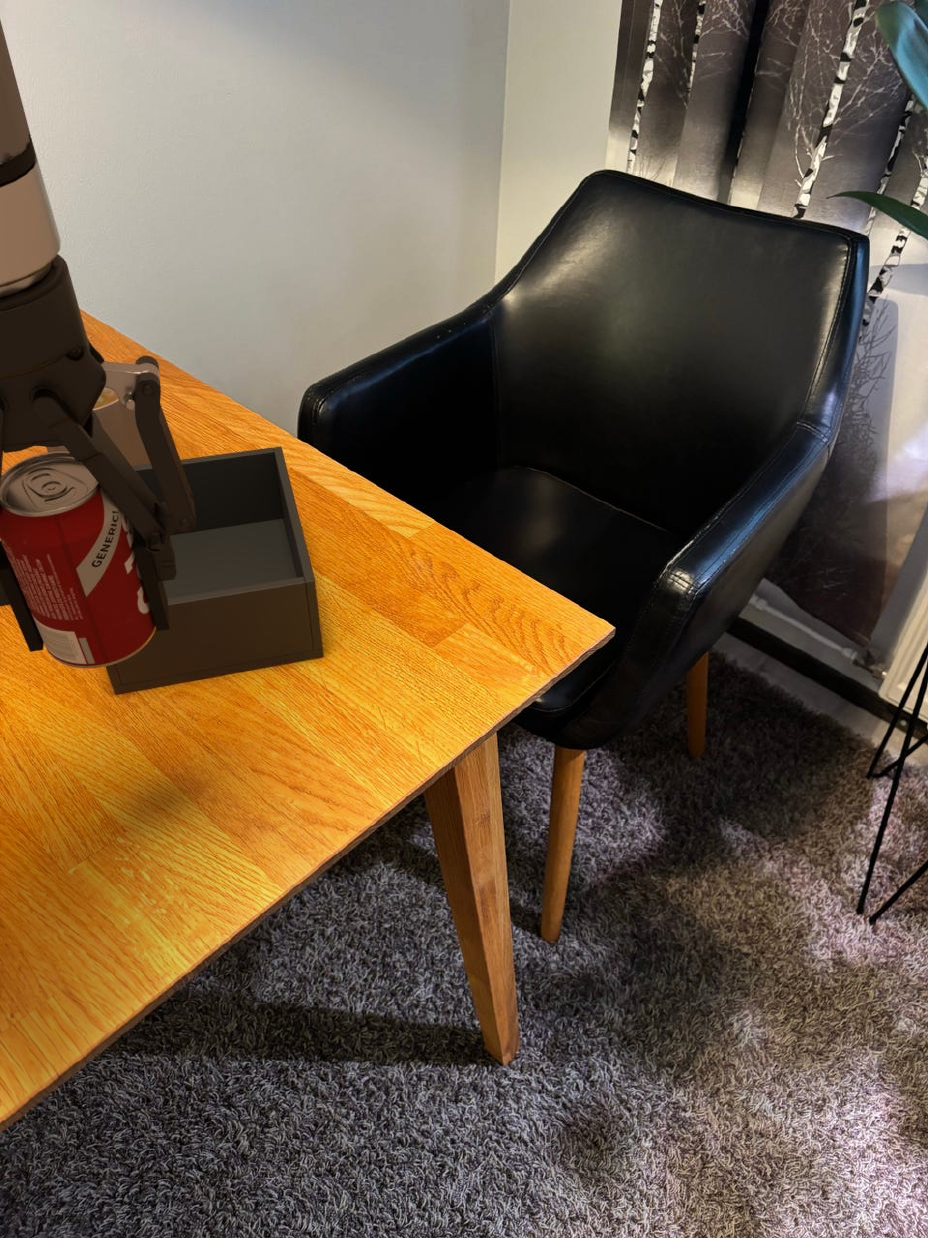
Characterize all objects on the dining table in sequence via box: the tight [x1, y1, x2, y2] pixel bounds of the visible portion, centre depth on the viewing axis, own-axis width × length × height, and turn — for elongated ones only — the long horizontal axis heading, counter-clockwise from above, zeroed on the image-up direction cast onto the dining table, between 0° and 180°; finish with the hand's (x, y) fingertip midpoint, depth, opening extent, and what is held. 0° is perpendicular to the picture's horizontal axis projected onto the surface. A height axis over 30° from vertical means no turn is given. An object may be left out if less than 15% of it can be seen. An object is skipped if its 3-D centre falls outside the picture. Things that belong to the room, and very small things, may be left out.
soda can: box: [0, 451, 156, 670], centre depth 56 cm, size 7×7×12 cm
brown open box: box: [105, 445, 324, 695], centre depth 86 cm, size 18×20×9 cm
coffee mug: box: [45, 387, 151, 466], centre depth 101 cm, size 13×10×10 cm
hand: (100, 624), depth 60 cm, fingers closed on soda can, 7 cm apart
